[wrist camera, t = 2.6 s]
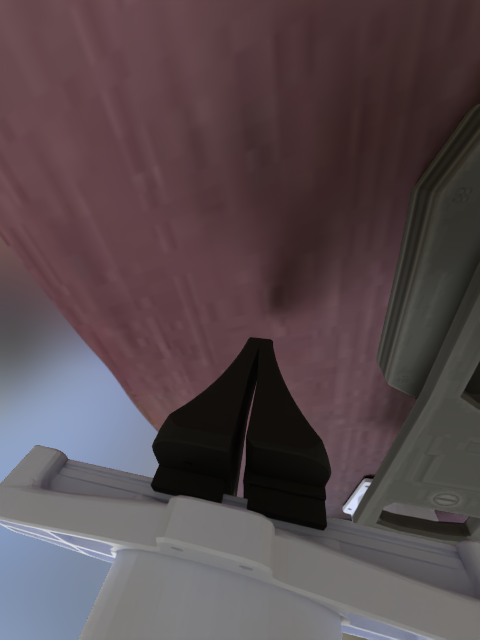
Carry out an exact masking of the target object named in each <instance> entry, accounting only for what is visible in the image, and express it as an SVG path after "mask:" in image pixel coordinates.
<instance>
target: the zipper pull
mask: <svg viewBox="0 0 480 640" xmlns="http://www.w3.org/2000/svg"><path fill="white" fill-rule="evenodd" d="M377 362H378V364H379V366H380V368H381V370H382V373H383V375H384V377H385V379H386V381H387V383H388V384H389V385H390V386H392V387H394V388H396V389H398V390H400V391H401V392H403V393H405V394H407V395H409V396H411V397H413V398H415V399H417V400H416V402H415V404H414V406H413V408H412V409H411V411H410V413H409V415H408V417H407V418H406V420H405V422H404V424H403V426H402V428H401V429H400V431H399V433H398V435H397V437H396V438H395V440H394V442H393V444H392V446H391V448H390V449H389V451H388V453H387V455H386V457H385V458H384V460H383V462H382V464H381V466H380V468H379V469H378V471H377V473H376V475H375V477H374V478H373V480H372V482H371V484H370V485H369V487H368V489H367V490H366V492H365V494H364V496H363V497H362V499H361V501H360V503H359V505H358V507H357V509H356V510H355V512H354V514H353V516H352V519H353V523H356V524H361V525H365V526H370V527H374V528H378V529H383V530H387V531H392V532H396V533H401V534H405V535H410V536H414V537H419V538H423V539H428V540H432V541H437V542H441V543H446V544H450V545H454V546H456V545H457V544H458V543H460V542H462V541H465V540H474V541H480V103H479V104H477V105H475V106H474V107H472V108H471V109H470V110H469V111H468V112H467V114H466V115H465V116H464V118H463V119H462V121H461V122H460V123H459V125H458V126H457V128H456V129H455V130H454V132H453V133H452V135H451V136H450V137H449V139H448V140H447V142H446V143H445V144H444V146H443V147H442V149H441V150H440V151H439V153H438V154H437V156H436V157H435V158H434V160H433V161H432V162H431V164H430V165H429V167H428V168H427V170H426V171H425V172H424V174H423V175H422V177H421V178H420V179H419V181H418V182H417V184H416V185H415V186H414V187H413V190H412V193H411V198H410V203H409V208H408V213H407V218H406V223H405V228H404V233H403V239H402V244H401V249H400V254H399V259H398V263H397V268H396V272H395V277H394V281H393V286H392V290H391V295H390V299H389V304H388V308H387V313H386V317H385V322H384V326H383V331H382V335H381V340H380V345H379V349H378V356H377ZM393 503H399V504H405V505H411V506H417V507H423V508H428V509H434V510H439V511H445V512H450V513H456V514H461V515H466V516H469V518H468V519H467V520H466V521H465V522H464V523H454V522H441V521H432V520H427V519H422V518H417V517H411V516H406V515H401V514H395V513H391V512H388V511H385V510H383V508H384V507H385V506H388V505H390V504H393Z"/></svg>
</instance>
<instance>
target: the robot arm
mask: <svg viewBox="0 0 480 640" xmlns="http://www.w3.org/2000/svg"><path fill="white" fill-rule="evenodd" d="M256 382H257V384H256ZM255 386H256V390H255ZM254 390H255V395H254V401H253V406H252V411H251V416H250V421H249V426H248V430H247V435H246V465H245V472H244V479H243V483H244V498H240V497H237V490H238V483H239V475H240V468H241V461H242V454H243V447H244V440H245V433H246V426H247V420H248V415H249V410H250V406H251V402H252V398H253V394H254ZM152 448H153V452H154V454H155V456H156V459H157V461H158V463H159V467H158V469H157V471H156V474H155V476H154V478H150V477H146V476H141V475H137V474H132V473H128V472H123V471H119V470H114V469H110V468H106V467H101V466H96V465H92V464H88V463H83V462H79V461H74V460H70V459H68V458H67V456H66V455H65V454H64V453H63V452H61V451H59V450H57V449H53V448H49V447H44V446H40V445H36V446H35V447H34V448H33V449H32V450H31V451H30V452H29V453H28V454H27V455H26V456H25V457H24V459H23V460H22V461H21V462H20V463H19V464H18V465H17V466H16V467H15V468H14V469H13V470H12V472H11V473H10V474H9V475H8V476H7V477H6V478H5V479H4V481H2V482H1V484H0V525H2V526H4V527H6V528H8V529H10V530H12V531H14V532H17V533H21V534H24V535H27V536H31V537H34V538H37V539H40V540H44V541H47V542H50V543H53V544H56V545H59V546H62V547H65V548H68V549H71V550H74V551H77V552H80V553H83V554H86V555H89V556H92V557H95V558H98V559H101V560H104V561H107V562H110V563H113V564H112V566H111V568H110V570H109V573H108V575H107V577H106V579H105V581H104V584H103V586H102V588H101V591H100V593H99V595H98V597H97V599H96V602H95V604H94V606H93V608H92V611H91V613H90V615H89V617H88V620H87V622H86V624H85V626H84V628H83V631H82V633H81V635H80V637H79V640H343V638H342V632H343V633H347V634H351V635H355V636H359V637H363V638H366V639H368V640H480V541H474V540H465V541H462V542H460V543H458V544H457V545H456V546H454V545H450V544H446V543H441V542H437V541H432V540H428V539H423V538H419V537H414V536H410V535H405V534H401V533H396V532H392V531H387V530H383V529H378V528H374V527H370V526H365V525H361V524H356V523H351V522H347V521H343V520H338V519H334V518H329V517H326V509H325V500H326V492H325V486H326V484H327V482H328V480H329V478H330V476H331V467H330V463H329V459H328V455H327V452H326V449H325V447H324V444H323V441H322V440H321V438H320V437H319V436H318V435H317V433H316V432H315V431H314V429H313V428H312V427H311V426H310V424H309V423H308V421H307V420H306V418H305V417H304V416H303V414H302V413H301V411H300V409H299V408H298V406H297V405H296V403H295V401H294V400H293V398H292V396H291V394H290V392H289V390H288V388H287V386H286V384H285V382H284V380H283V377H282V375H281V373H280V370H279V367H278V364H277V361H276V358H275V354H274V349H273V341H272V340H271V339H262V338H253V337H250V338H249V339H248V341H247V343H246V344H245V346H244V348H243V349H242V351H241V352H240V354H239V355H238V356H237V358H236V359H235V360H234V362H233V363H232V364H231V365H230V366H229V367H228V369H227V370H226V371H225V372H224V373H223V374H222V375H221V376H220V377H219V378H218V379H217V380H216V381H215V382H214V383H213V384H212V385H210V386H209V387H208V388H207V389H206V390H205V391H203V392H202V393H201V394H199V395H198V396H197V397H195V398H194V399H193V400H191V401H190V402H188V403H187V404H185V405H184V406H182V407H181V408H179V409H177V410H176V411H174V412H173V413H171V414H170V415H169V416H168V417H167V419H166V420H165V422H164V424H163V425H162V427H161V428H160V430H159V432H158V434H157V437H156V438H155V440H154V442H153V445H152ZM372 480H373V479H368V478H366V479H364V480H363V481H362V482H361V484H360V485H359V486H358V488H357V489H356V490H355V492H354V493H353V494H352V496H351V497H350V498H349V500H348V501H347V503H346V504H345V505H344V507H343V511H344V512H345V513H348V514H351V515H352V516H353V514H354V512H355V510H356V509H357V507H358V505H359V503H360V501H361V499H362V497H363V496H364V494H365V492H366V490H367V489H368V487H369V485H370V484H371V482H372ZM383 510H385V511H388V512H391V513H395V514H401V515H406V516H411V517H417V518H422V519H427V520H432V521H438V519H437V516H436V514H435V512H434V511H435V510H434V509H428V508H423V507H417V506H411V505H405V504H399V503H393V504H390V505H388V506H385V507H384V508H383ZM352 521H353V519H352Z"/></svg>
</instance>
